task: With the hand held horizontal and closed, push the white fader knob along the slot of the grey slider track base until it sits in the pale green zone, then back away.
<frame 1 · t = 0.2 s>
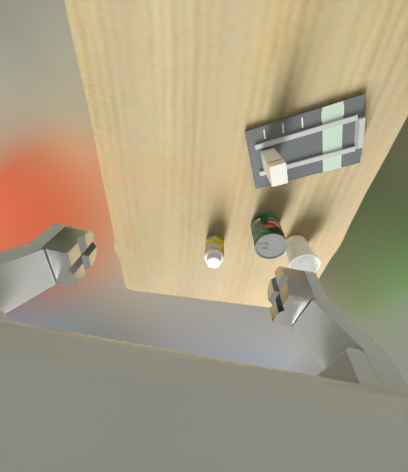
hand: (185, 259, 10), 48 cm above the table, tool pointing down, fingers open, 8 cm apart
white cup: (294, 243, 66), on the table
fader: (273, 165, 46), point 8 cm above the table, slide at 0.0 cm
canned tomato: (264, 223, 63), on the table
supplement bottle: (214, 240, 68), on the table
grey slider track base: (302, 146, 51), on the table
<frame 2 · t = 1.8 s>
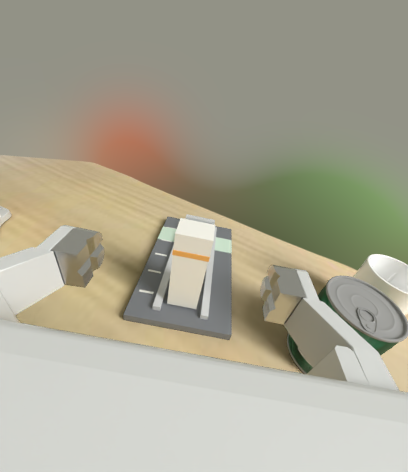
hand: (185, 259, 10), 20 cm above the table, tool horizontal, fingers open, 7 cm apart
white cup: (355, 315, 36), on the table
fader: (189, 267, 27), point 8 cm above the table, slide at 0.0 cm
canned tomato: (314, 353, 29), on the table
grey slider track base: (190, 265, 38), on the table
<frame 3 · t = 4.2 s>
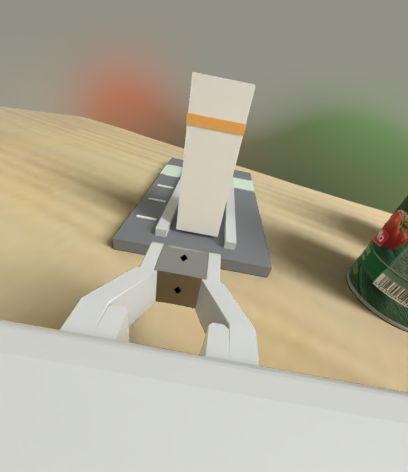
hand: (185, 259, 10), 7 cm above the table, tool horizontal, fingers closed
fader: (209, 165, 18), point 8 cm above the table, slide at 0.0 cm
canned tomato: (389, 297, 20), on the table
grey slider track base: (203, 202, 29), on the table
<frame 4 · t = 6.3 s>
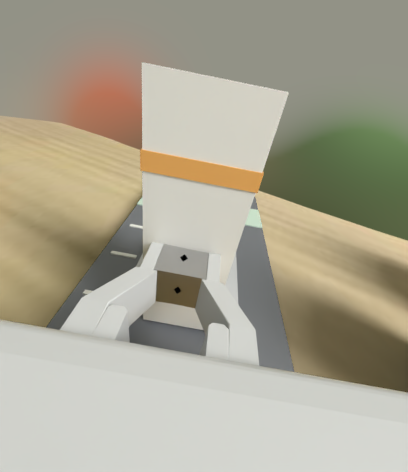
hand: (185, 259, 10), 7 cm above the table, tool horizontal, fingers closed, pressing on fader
fader: (193, 228, 11), point 8 cm above the table, slide at 0.1 cm, touching gripper
grey slider track base: (193, 247, 21), on the table
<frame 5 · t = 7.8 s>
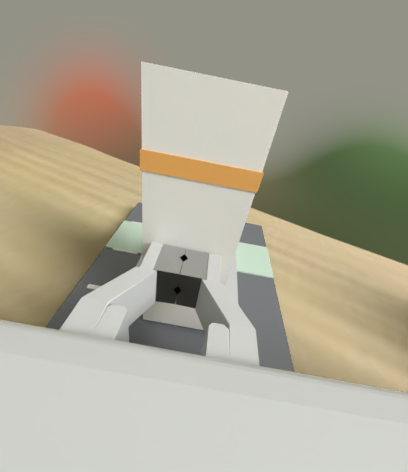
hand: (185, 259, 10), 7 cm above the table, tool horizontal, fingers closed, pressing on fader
fader: (193, 228, 11), point 8 cm above the table, slide at 7.7 cm, touching gripper
grey slider track base: (179, 313, 15), on the table
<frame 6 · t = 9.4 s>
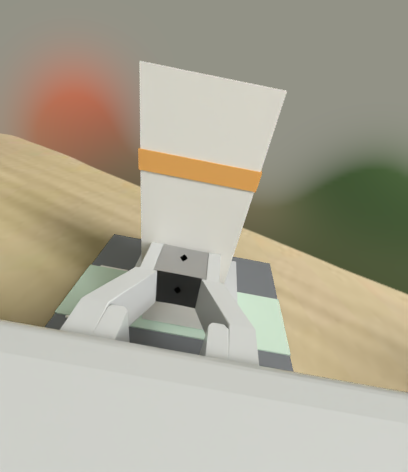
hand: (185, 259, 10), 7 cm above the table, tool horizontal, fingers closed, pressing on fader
fader: (192, 228, 11), point 8 cm above the table, slide at 13.9 cm, touching gripper
grey slider track base: (153, 428, 10), on the table
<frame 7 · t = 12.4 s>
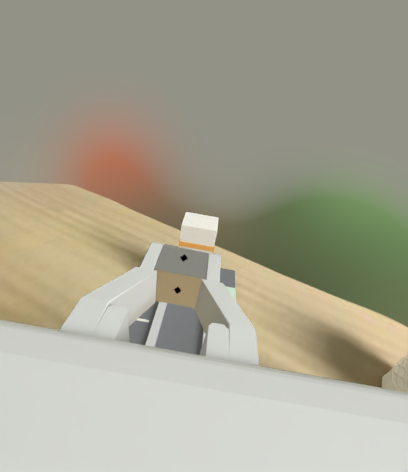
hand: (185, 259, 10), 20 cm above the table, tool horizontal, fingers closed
fader: (194, 259, 29), point 8 cm above the table, slide at 13.9 cm
grey slider track base: (181, 332, 28), on the table
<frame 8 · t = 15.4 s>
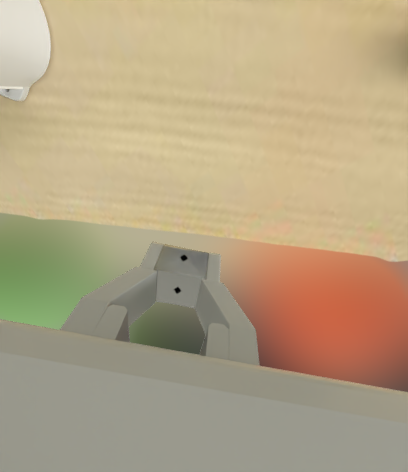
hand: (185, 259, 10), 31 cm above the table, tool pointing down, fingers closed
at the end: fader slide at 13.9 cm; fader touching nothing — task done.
